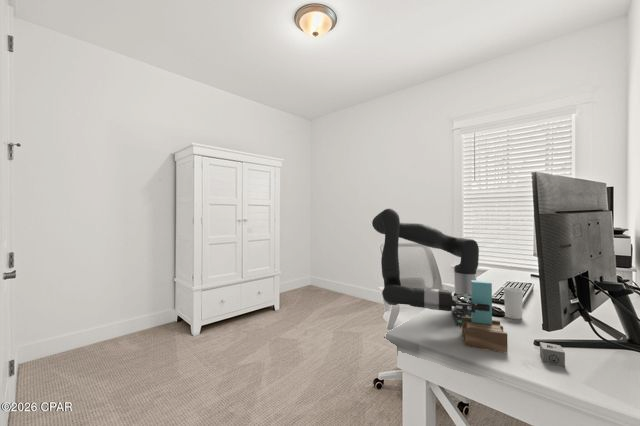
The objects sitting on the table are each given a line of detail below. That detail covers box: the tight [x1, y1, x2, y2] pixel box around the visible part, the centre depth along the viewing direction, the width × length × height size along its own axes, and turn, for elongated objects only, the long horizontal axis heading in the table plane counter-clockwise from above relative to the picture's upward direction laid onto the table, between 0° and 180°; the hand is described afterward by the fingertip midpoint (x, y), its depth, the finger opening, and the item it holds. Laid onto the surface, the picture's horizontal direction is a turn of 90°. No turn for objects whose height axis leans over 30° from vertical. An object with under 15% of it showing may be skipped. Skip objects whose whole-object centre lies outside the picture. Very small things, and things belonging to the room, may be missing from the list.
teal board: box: [471, 279, 493, 324], centre depth 101 cm, size 3×6×20 cm, turn 68°
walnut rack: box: [461, 316, 509, 354], centre depth 98 cm, size 12×12×7 cm
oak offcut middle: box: [467, 323, 501, 329], centre depth 97 cm, size 2×10×6 cm, turn 68°
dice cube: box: [539, 341, 566, 368], centre depth 85 cm, size 5×5×5 cm
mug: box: [503, 286, 524, 320], centre depth 126 cm, size 10×7×12 cm, turn 170°
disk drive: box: [451, 310, 471, 327], centre depth 118 cm, size 10×3×15 cm
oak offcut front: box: [467, 325, 504, 332], centre depth 95 cm, size 2×10×6 cm, turn 68°
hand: (487, 304), depth 100 cm, fingers open, 8 cm apart
